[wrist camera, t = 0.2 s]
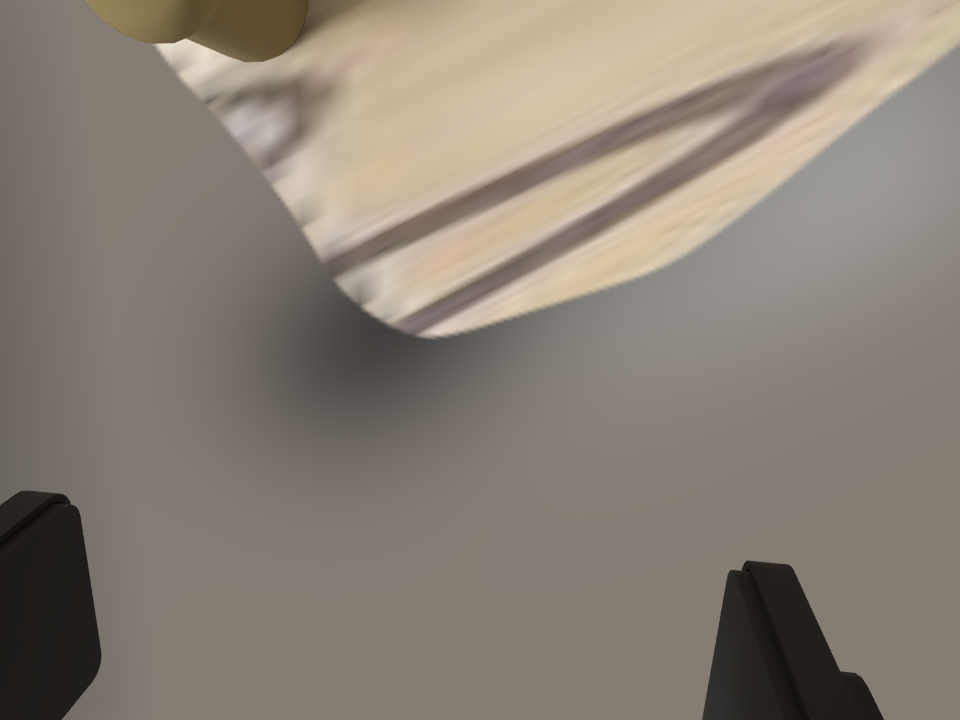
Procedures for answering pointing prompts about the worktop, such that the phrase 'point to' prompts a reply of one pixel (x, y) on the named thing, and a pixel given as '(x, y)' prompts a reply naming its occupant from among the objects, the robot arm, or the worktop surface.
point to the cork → (210, 23)
